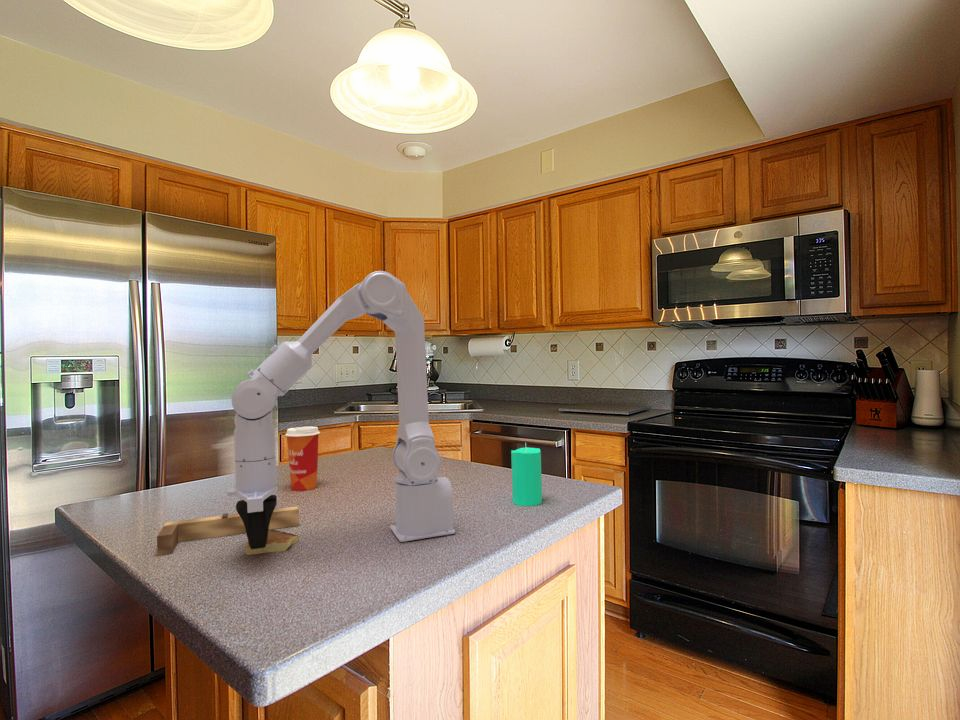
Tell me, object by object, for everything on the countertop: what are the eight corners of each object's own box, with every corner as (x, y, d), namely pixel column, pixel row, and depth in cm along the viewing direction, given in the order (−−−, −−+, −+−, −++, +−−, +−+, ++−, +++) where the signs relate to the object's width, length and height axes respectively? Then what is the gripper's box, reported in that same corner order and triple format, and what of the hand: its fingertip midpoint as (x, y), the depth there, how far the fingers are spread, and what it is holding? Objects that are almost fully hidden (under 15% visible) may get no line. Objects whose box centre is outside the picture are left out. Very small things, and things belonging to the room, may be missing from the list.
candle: (534, 496, 108) (533, 439, 108) (547, 503, 103) (545, 443, 103) (508, 499, 106) (506, 441, 106) (519, 507, 101) (517, 446, 101)
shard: (256, 535, 90) (256, 525, 90) (303, 530, 92) (302, 520, 92) (244, 558, 79) (243, 546, 79) (296, 553, 81) (296, 541, 81)
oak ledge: (298, 522, 95) (298, 504, 95) (300, 535, 88) (300, 515, 88) (166, 540, 87) (166, 520, 87) (157, 555, 80) (156, 534, 80)
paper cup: (281, 488, 121) (279, 428, 121) (312, 482, 126) (311, 425, 126) (295, 494, 115) (293, 431, 115) (327, 487, 120) (325, 427, 120)
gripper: (230, 453, 84) (232, 536, 84) (222, 470, 70) (225, 569, 71) (276, 449, 87) (279, 529, 87) (277, 464, 73) (280, 560, 73)
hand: (258, 547), depth 79 cm, fingers closed
